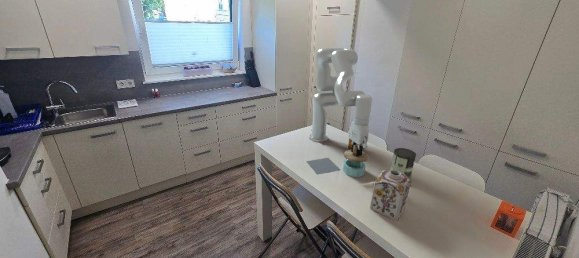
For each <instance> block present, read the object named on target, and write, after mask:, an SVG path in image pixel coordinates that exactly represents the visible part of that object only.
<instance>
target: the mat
mask: <svg viewBox="0 0 579 258" xmlns="http://www.w3.org/2000/svg"><path fill="white" fill-rule="evenodd" d="M306 163H307V164H308V165H309V167H310V168H311V169H312V170H313V171H314V173H315V174H316V175H323V174H328V173H332V172H337V171H338V172H339V171H341V168H339V166H337V164H336V163H334V162H333V161H332V160H331V159H330V157H324V158H318V159H312V160H306Z"/></svg>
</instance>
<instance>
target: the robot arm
mask: <svg viewBox="0 0 579 258" xmlns="http://www.w3.org/2000/svg"><path fill="white" fill-rule="evenodd" d="M315 53H316V54H315V64H316V77H315V81H316V82H315V87H316V90H317V91H319V92H318V93H315V94H313V96H312V99H311V100H312V125H311V129H310V130H311V133H310V134H309V136H308V137H309V139H310V140H311V141H313V142H317V143H321V142H322V143H323V142H327V140H328V139H329V137H328V135H327V125H328V112H327V111H326V109H325V108H333V107H337V106H338V105H340V107H344V108H347V107H354V108H353V109H354V110H353V116H352V121H351V123H350V127H349V132H348V139H349V138H350V139H351V141H352V143H351V144H352V149H350V150H351V152H353V146H354V145H356V144H357V145H358V149H357V151H356V156H361V155H362V151H363V150H364V149H365V148H368V140H369V131H370V130H369V127H370V125H369V124H370V116H371V112H372V111H371V110H372V104H373V97H372V96H370V95H369V94H366V92H364V91H362V90H348V91H345V90H344V87H343V83H345V82H347V81H349V80H351V79H352V78H353V76H354V73H355V72H354V68H353V67H352V66H355V65H356V64H357V63H358V58H359V56H358V53H357V52H356V50H354V49H351V48H344V47H323V48H322V47H321V48H320V49H318V50H317V51H316V52H315ZM330 64H332V66H333V67H334V68H333V69H334V72H335V74H334V75H331V74H332V73H331V72H332V68H331V65H330ZM361 144H362V146H360V145H361Z"/></svg>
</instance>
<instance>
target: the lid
mask: <svg viewBox="0 0 579 258" xmlns="http://www.w3.org/2000/svg"><path fill="white" fill-rule="evenodd" d="M357 149H358V145H357V144H356V145H354V146H353V152H351V149H347V150H345V151H344V153H343V156H344V158H345V160H346V159H348V160H350V161H353V162H364V163H365V162H367V161H368V159H369V155H368V153H366V152H365V151H363V150H362V155H361V156H356V151H357Z"/></svg>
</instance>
